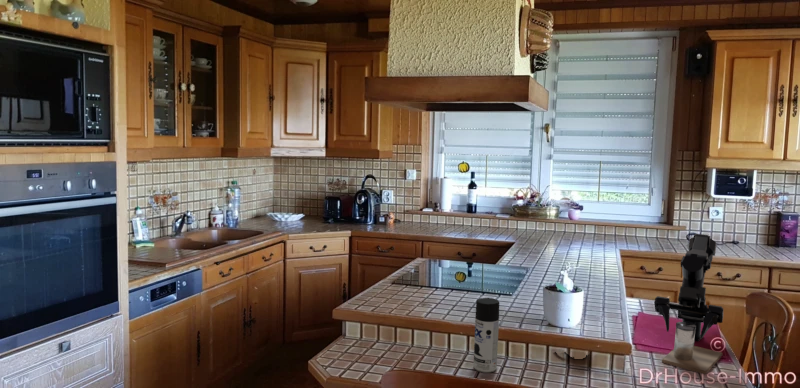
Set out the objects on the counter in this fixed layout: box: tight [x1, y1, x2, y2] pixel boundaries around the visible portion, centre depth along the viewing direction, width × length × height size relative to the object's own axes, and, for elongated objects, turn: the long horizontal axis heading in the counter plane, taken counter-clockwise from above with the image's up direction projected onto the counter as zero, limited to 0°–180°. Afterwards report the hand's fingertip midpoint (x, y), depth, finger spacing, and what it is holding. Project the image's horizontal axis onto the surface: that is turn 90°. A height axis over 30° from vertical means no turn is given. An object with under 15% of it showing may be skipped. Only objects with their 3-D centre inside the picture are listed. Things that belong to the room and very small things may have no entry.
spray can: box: [472, 297, 500, 374], centre depth 173 cm, size 7×7×20 cm
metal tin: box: [673, 321, 696, 360], centre depth 182 cm, size 5×5×10 cm
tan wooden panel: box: [661, 345, 723, 375], centre depth 184 cm, size 18×12×1 cm, turn 139°
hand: (684, 334), depth 180 cm, fingers open, 9 cm apart
